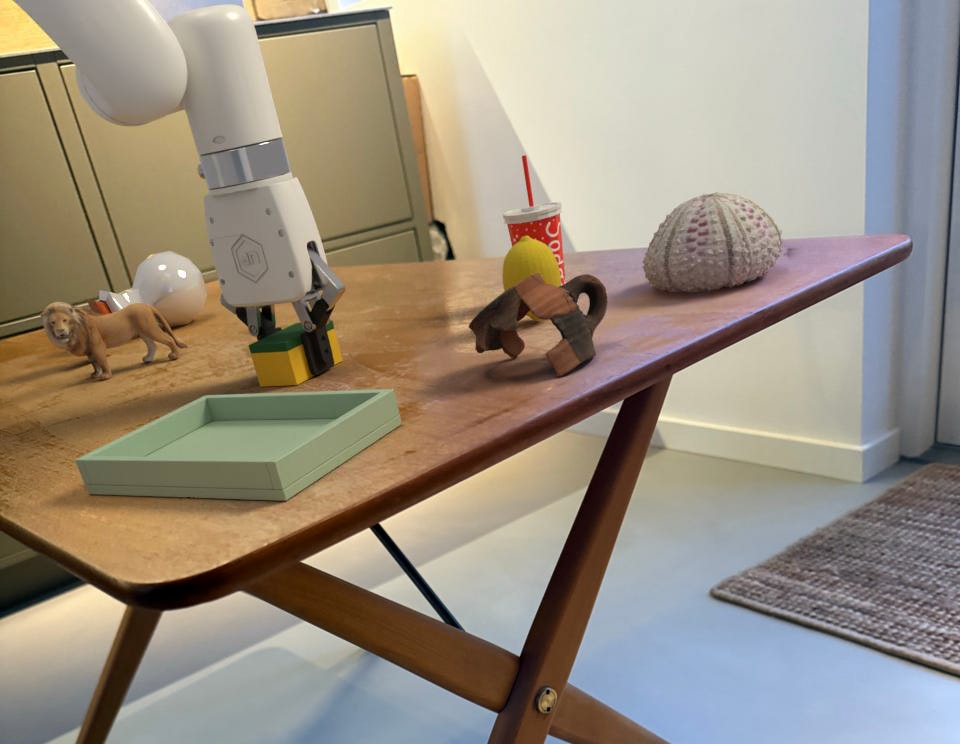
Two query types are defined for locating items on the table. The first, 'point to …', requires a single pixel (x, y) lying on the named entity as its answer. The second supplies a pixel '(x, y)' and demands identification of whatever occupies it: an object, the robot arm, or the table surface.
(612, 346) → the table surface
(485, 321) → the brown piece
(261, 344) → the sponge
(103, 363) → the lion figurine
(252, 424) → the tray
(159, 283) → the potion bottle
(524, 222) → the beverage cup
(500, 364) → the table surface
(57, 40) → the robot arm
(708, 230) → the sea urchin shell
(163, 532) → the table surface
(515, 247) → the lemon
